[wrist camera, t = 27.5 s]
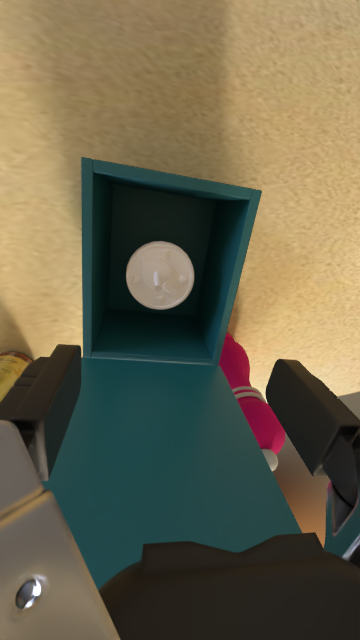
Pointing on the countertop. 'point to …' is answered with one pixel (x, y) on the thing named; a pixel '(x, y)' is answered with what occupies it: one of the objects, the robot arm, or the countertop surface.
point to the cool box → (169, 226)
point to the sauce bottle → (11, 370)
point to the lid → (162, 465)
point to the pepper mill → (251, 401)
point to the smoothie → (160, 275)
